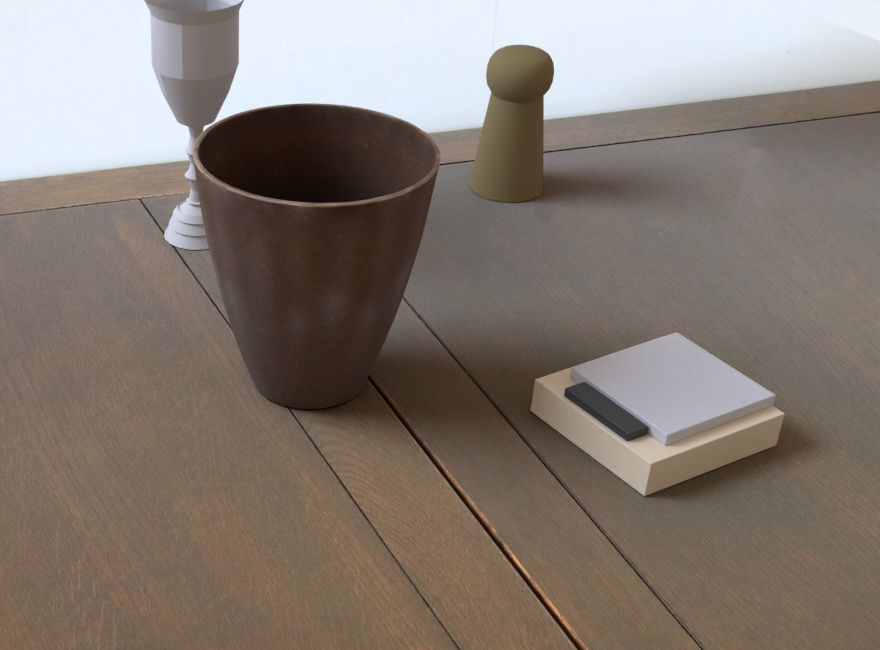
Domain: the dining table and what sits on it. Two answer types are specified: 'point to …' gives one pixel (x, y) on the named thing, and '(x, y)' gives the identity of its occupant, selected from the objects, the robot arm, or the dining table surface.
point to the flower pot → (313, 239)
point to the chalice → (193, 84)
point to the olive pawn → (513, 125)
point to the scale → (659, 412)
